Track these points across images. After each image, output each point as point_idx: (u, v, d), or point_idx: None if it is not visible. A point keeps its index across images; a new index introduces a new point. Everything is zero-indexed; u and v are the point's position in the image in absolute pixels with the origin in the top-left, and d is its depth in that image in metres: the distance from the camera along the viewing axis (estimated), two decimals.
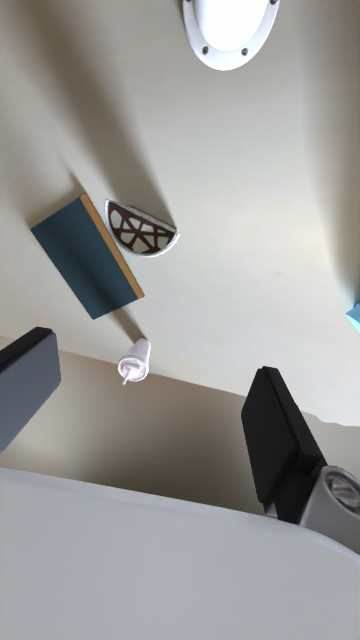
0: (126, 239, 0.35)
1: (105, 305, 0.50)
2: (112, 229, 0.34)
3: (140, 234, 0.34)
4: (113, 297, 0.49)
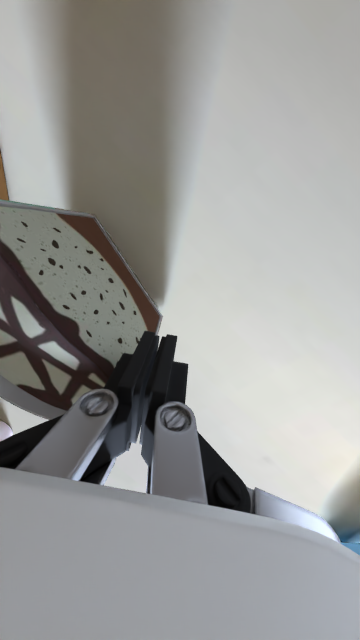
0: None
1: None
2: None
3: (34, 351, 0.10)
4: None
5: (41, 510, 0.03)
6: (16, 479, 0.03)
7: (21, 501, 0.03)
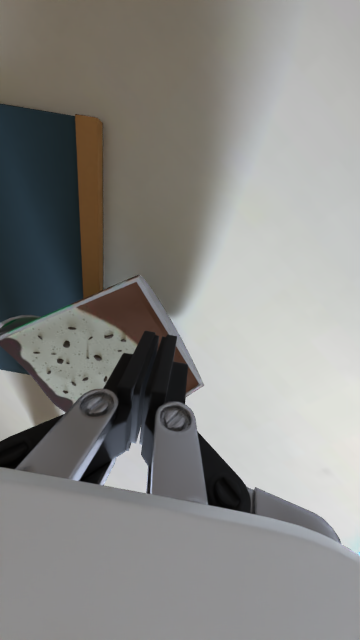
0: None
1: (11, 358, 0.22)
2: None
3: None
4: None
5: (41, 510, 0.03)
6: (16, 479, 0.03)
7: (21, 501, 0.03)
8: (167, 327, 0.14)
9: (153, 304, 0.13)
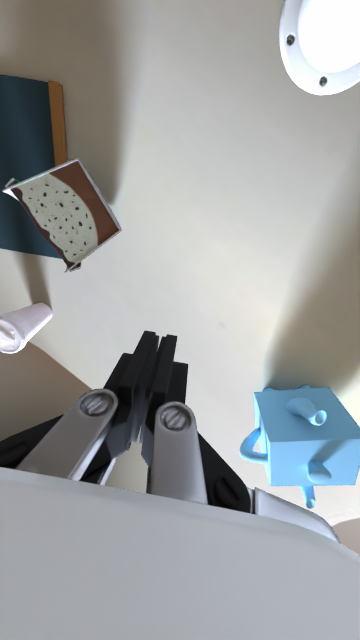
0: None
1: (16, 240, 0.36)
2: None
3: None
4: (32, 237, 0.36)
5: (41, 510, 0.03)
6: (16, 479, 0.03)
7: (21, 501, 0.03)
8: (96, 189, 0.28)
9: (87, 174, 0.27)
